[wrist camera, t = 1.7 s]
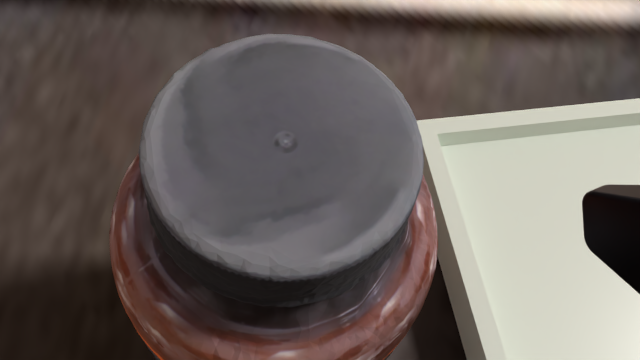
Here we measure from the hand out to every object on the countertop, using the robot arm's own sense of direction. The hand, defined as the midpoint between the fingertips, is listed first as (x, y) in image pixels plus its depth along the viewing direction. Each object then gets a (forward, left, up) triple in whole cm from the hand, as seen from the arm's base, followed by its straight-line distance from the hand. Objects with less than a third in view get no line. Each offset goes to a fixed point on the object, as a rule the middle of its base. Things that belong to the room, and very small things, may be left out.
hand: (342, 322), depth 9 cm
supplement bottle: (+2, +1, -10) cm, 10 cm away
